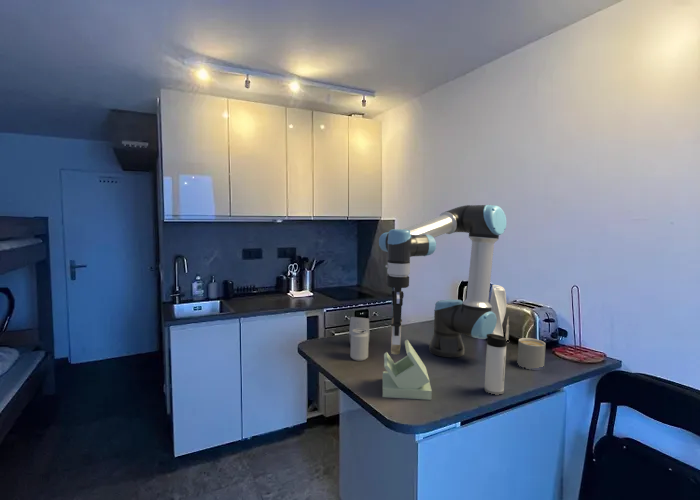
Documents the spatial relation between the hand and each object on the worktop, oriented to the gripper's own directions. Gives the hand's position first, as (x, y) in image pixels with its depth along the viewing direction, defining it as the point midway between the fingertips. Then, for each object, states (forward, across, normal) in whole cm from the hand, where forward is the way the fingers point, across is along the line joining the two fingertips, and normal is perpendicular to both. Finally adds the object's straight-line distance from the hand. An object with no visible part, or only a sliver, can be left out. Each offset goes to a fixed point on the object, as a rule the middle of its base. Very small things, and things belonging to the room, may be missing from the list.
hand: (395, 342), depth 136 cm
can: (+17, -27, -14) cm, 35 cm away
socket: (+16, 0, +4) cm, 17 cm away
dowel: (+4, 0, 0) cm, 4 cm away
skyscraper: (+17, -59, +51) cm, 80 cm away
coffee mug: (+17, -29, +57) cm, 66 cm away
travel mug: (+17, -2, +34) cm, 38 cm away
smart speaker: (+17, -43, -15) cm, 48 cm away
